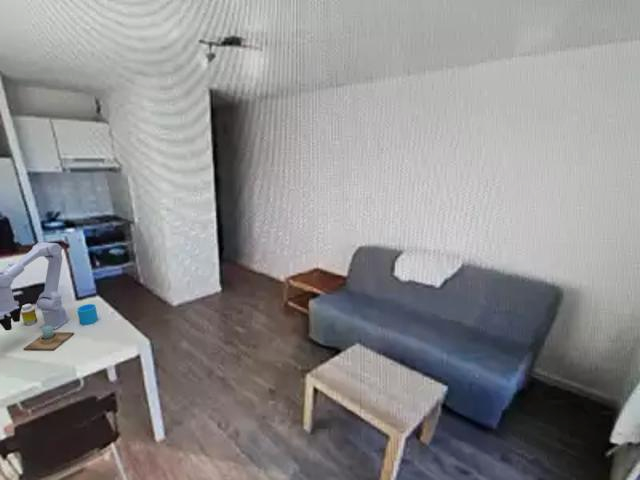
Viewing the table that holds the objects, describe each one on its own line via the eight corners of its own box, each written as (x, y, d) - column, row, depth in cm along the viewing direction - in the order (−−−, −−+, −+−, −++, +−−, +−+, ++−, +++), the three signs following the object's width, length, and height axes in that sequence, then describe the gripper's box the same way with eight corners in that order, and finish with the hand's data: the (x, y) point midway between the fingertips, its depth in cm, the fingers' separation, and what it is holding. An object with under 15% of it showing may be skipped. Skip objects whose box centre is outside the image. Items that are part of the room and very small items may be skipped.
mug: (99, 321, 189) (97, 307, 186) (81, 327, 183) (78, 313, 181) (94, 313, 197) (91, 300, 195) (77, 318, 192) (74, 304, 189)
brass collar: (47, 336, 173) (47, 332, 173) (61, 336, 173) (60, 332, 172) (37, 344, 167) (36, 340, 166) (51, 344, 167) (50, 340, 166)
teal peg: (48, 337, 172) (45, 324, 170) (56, 337, 172) (53, 325, 170) (42, 342, 168) (39, 329, 166) (50, 342, 168) (47, 329, 166)
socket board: (46, 333, 177) (46, 331, 177) (74, 334, 177) (73, 332, 176) (23, 350, 164) (23, 348, 163) (53, 350, 163) (53, 349, 163)
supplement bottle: (37, 323, 186) (33, 305, 183) (24, 326, 183) (19, 309, 180) (37, 319, 190) (33, 301, 187) (24, 322, 187) (19, 305, 184)
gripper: (7, 305, 155) (15, 332, 159) (23, 291, 168) (30, 316, 172) (-12, 307, 153) (-4, 334, 157) (5, 293, 166) (12, 318, 170)
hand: (12, 325), depth 164 cm, fingers open, 7 cm apart
